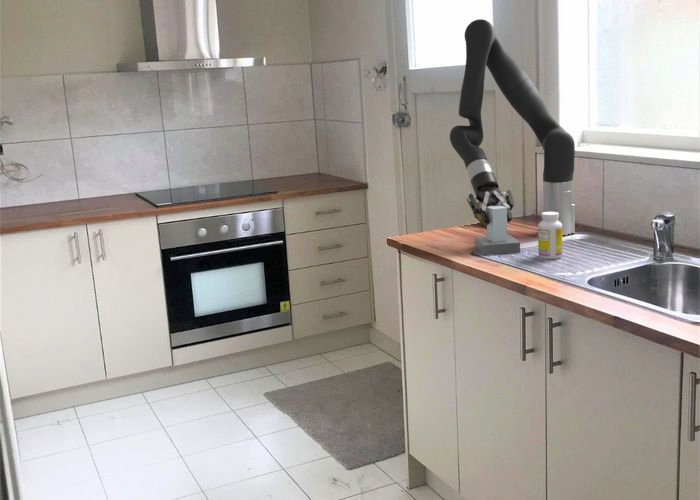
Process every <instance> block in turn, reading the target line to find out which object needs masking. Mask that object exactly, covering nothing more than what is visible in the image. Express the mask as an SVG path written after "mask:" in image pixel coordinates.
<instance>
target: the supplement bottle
mask: <svg viewBox="0 0 700 500" xmlns="http://www.w3.org/2000/svg"><path fill="white" fill-rule="evenodd" d="M558 217H559V213H557V212H543V211H542V212H541V221H540V222H539V223H538V225H537V227H538V228H537V233H538V234H537V237H538V238H537V242H538V247H537V248H538V249H537V250H538V251H537V252H538V257H539V258H541V259H544V260H558V259H561V257H563V236H562V223H561V222H559V221H558Z"/></svg>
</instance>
